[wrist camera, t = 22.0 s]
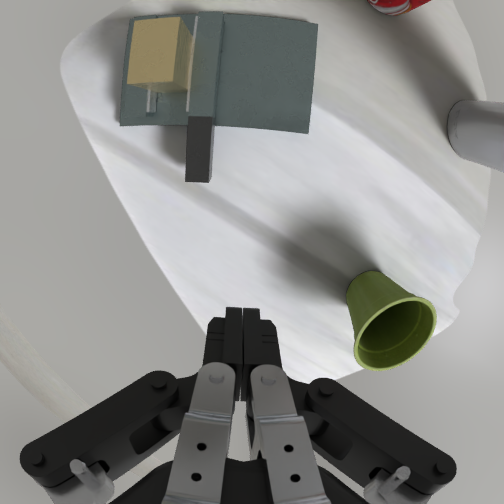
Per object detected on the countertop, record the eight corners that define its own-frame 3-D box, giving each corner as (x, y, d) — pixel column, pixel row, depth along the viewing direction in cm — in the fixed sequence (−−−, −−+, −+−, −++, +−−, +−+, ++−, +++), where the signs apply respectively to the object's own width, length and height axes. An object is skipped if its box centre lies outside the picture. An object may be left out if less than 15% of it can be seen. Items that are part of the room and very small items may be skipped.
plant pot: (368, 331, 46) (392, 379, 36) (315, 303, 43) (334, 356, 33) (415, 277, 42) (451, 318, 32) (366, 240, 39) (402, 281, 29)
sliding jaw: (224, 20, 26) (223, 11, 23) (211, 177, 34) (208, 182, 31) (199, 20, 25) (195, 11, 23) (187, 176, 33) (182, 181, 31)
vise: (315, 27, 28) (324, 16, 23) (305, 133, 33) (314, 135, 29) (134, 22, 26) (121, 12, 22) (124, 125, 32) (109, 127, 28)
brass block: (197, 44, 27) (180, 16, 18) (192, 92, 30) (172, 81, 20) (163, 45, 27) (134, 20, 18) (158, 92, 29) (126, 84, 20)
